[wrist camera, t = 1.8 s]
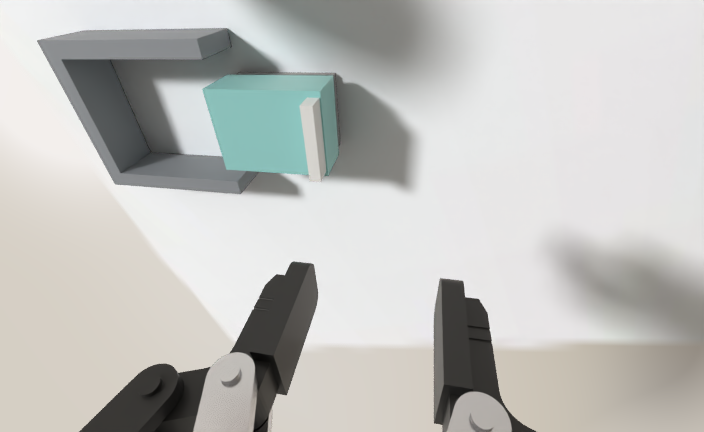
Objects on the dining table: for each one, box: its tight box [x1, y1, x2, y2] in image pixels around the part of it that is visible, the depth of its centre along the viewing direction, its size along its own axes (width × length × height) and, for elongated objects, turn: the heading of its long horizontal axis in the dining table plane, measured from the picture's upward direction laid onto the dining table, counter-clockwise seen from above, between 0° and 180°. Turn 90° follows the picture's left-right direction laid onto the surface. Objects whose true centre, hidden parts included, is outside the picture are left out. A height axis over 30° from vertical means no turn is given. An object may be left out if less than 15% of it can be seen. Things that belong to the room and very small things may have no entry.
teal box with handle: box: [202, 72, 340, 182], centre depth 25 cm, size 8×6×6 cm
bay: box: [37, 28, 258, 194], centre depth 27 cm, size 12×12×4 cm
